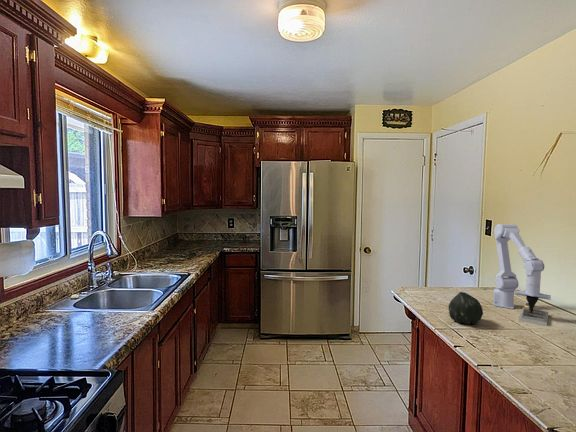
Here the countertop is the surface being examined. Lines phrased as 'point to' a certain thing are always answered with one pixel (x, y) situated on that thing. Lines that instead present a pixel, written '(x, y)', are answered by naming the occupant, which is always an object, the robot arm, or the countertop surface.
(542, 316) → the panel
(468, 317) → the squash
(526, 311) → the breaker
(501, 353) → the countertop surface
